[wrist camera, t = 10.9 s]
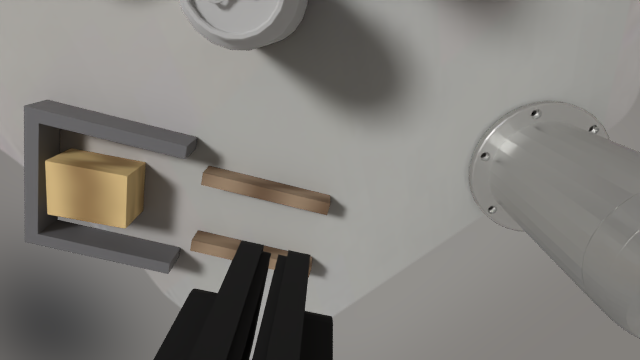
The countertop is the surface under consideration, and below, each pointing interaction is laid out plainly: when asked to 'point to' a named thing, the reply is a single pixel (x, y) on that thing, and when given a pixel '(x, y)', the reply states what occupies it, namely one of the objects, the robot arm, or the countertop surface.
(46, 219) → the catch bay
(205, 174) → the chute
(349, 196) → the countertop surface
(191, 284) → the countertop surface
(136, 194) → the ochre block
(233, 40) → the can
